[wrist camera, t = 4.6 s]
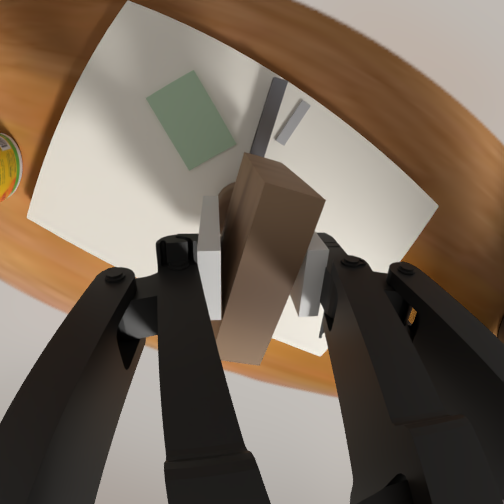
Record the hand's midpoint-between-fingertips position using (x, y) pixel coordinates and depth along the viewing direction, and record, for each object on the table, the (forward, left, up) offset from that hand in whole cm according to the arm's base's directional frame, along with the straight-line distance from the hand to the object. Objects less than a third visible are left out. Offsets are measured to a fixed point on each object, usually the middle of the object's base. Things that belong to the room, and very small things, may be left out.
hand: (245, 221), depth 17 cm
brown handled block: (+1, -2, -3) cm, 4 cm away
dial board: (0, 0, -6) cm, 6 cm away
